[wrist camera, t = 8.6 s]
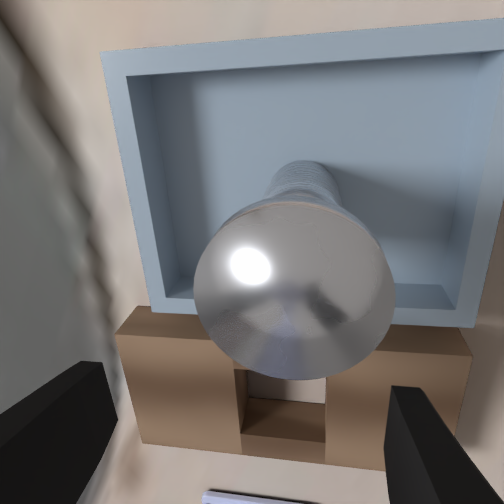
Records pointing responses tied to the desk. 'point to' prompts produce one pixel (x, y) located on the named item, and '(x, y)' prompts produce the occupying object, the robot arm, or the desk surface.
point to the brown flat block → (277, 411)
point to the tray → (322, 148)
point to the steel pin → (295, 281)
